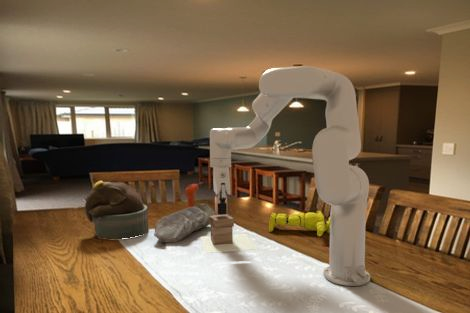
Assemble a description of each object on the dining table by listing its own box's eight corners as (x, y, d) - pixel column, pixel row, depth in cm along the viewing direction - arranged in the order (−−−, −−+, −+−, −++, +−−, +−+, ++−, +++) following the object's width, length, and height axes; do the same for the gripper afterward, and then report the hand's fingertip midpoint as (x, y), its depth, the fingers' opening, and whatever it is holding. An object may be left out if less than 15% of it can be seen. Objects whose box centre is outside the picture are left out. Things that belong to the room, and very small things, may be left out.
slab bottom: (232, 243, 132) (232, 235, 131) (213, 244, 130) (213, 236, 130) (229, 237, 138) (229, 230, 138) (210, 239, 137) (210, 231, 137)
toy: (264, 240, 138) (347, 252, 132) (267, 216, 137) (350, 227, 131) (273, 220, 167) (341, 229, 161) (275, 200, 166) (343, 208, 160)
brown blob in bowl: (72, 237, 143) (69, 182, 141) (119, 222, 165) (118, 174, 163) (115, 246, 132) (112, 186, 130) (159, 228, 154) (158, 177, 152)
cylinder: (228, 214, 132) (227, 198, 131) (215, 215, 131) (215, 198, 130) (226, 211, 136) (225, 195, 135) (214, 212, 135) (214, 196, 135)
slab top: (233, 226, 132) (233, 218, 132) (215, 228, 129) (215, 220, 129) (226, 221, 138) (226, 214, 138) (209, 223, 136) (208, 215, 135)
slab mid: (232, 235, 131) (232, 227, 131) (213, 236, 130) (213, 228, 130) (229, 230, 138) (229, 222, 138) (210, 231, 137) (210, 223, 137)
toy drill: (207, 204, 193) (206, 177, 190) (193, 217, 176) (191, 187, 173) (199, 204, 195) (197, 176, 192) (183, 216, 177) (181, 187, 174)
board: (258, 251, 126) (258, 248, 126) (205, 255, 122) (205, 252, 122) (246, 235, 143) (246, 233, 143) (200, 238, 140) (200, 236, 140)
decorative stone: (188, 222, 164) (188, 200, 163) (219, 225, 158) (218, 203, 157) (143, 243, 135) (143, 217, 134) (179, 249, 129) (178, 221, 128)
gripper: (235, 164, 124) (235, 217, 126) (226, 160, 141) (227, 207, 142) (213, 165, 123) (214, 218, 124) (207, 160, 139) (208, 208, 141)
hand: (221, 212), depth 133 cm, fingers closed on cylinder, 4 cm apart
